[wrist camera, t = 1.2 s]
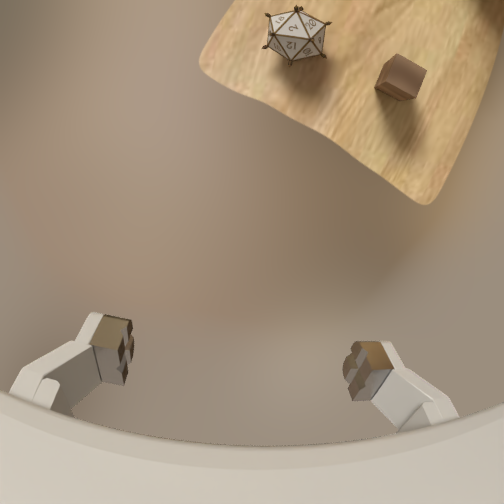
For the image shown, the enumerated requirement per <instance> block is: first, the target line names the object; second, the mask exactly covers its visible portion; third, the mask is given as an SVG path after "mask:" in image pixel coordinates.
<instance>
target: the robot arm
mask: <svg viewBox="0 0 504 504" xmlns="http://www.w3.org/2000/svg"><path fill="white" fill-rule="evenodd" d="M132 329H133V325H132V321H131V320H130V319H125V318H120V317H115V316H111V315H106V314H105V315H104V314H100V313H96V312H92V313H90V314H89V316H88V317H87V319H86V321H85V323H84V325H83V327H82V328H81V330H80V332H79V334H78V336H77V338H76V340H75V341H69V342H68V343H66V344H64V345H62V346H60V347H59V348H57V349H55V350H53V351H52V352H50V353H48V354H46V355H44V356H43V357H41V358H39V359H37V360H36V361H34V362H32V363H30V364H28V365H27V366H25V367H23V368H22V369H21V371H20V373H19V375H18V376H17V378H16V380H15V382H14V384H13V386H12V388H11V390H10V392H9V393H7V392H5V391H2V390H0V504H504V402H502V403H500V404H497V405H495V406H492V407H489V408H487V409H484V410H481V411H478V412H475V413H473V414H469V415H466V416H463V417H459V415H458V414H457V412H456V410H455V408H454V406H453V404H452V402H451V401H450V399H449V397H448V396H446V395H445V394H443V393H442V392H441V391H439V390H438V389H437V388H435V387H434V386H432V385H431V384H430V383H428V382H427V381H425V380H424V379H423V378H421V377H420V376H418V375H417V374H416V373H414V372H413V371H411V370H410V369H406V368H405V367H404V365H403V363H402V361H401V359H400V358H399V356H398V354H397V352H396V350H395V349H394V347H393V345H392V343H391V342H389V341H356V342H355V343H353V345H352V347H351V351H352V353H351V354H350V355H348V356H347V357H346V359H345V361H344V363H343V376H344V379H345V380H346V381H347V382H348V383H350V385H349V387H348V390H349V393H350V396H351V398H352V401H366V400H371V402H372V403H373V404H374V405H375V406H376V407H377V408H378V409H379V410H380V411H381V412H382V413H383V414H384V415H385V416H386V417H387V418H388V419H389V420H390V421H391V422H392V423H393V424H394V425H395V426H396V427H397V428H398V429H399V431H398V432H397V433H396V434H391V435H386V436H380V437H374V438H367V439H361V440H353V441H345V442H335V443H324V444H310V445H291V446H290V445H288V446H248V445H226V444H211V443H201V442H191V441H183V440H175V439H168V438H162V437H155V436H149V435H144V434H139V433H133V432H129V431H124V430H120V429H115V428H111V427H107V426H103V425H99V424H95V423H91V422H88V421H84V420H81V419H77V418H75V417H74V415H73V413H72V411H71V409H72V408H73V407H74V406H75V405H77V404H78V403H79V402H80V401H81V400H82V399H83V398H84V397H86V396H87V395H88V394H89V393H90V392H92V391H93V390H94V389H95V388H96V387H97V386H98V385H100V384H101V383H102V382H106V383H112V384H116V385H122V386H124V384H125V381H126V377H127V375H128V366H127V365H128V364H130V363H131V361H132V358H133V352H134V337H133V336H132V335H131V332H132Z"/></svg>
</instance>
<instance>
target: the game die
mask: <svg viewBox="0 0 504 504" xmlns="http://www.w3.org/2000/svg"><path fill="white" fill-rule="evenodd" d="M298 8H299V7H298V6H297V5H296V6H295V7H294V11H290V12H285V13H281V14H277V15H273V16H271V15H270V14H268V13H265V15H266V16H267V17H269V30H268V41H267V45H265V46H263V47H262V49H266V48H268V47H269V48H271V49H272V50H274V51H275V52H277V53H279V54H280V55H282V56H283V57H285V58H286V59H288V60H289V62H288V65H289V67H290V66H292V61H296V60H300V59H304V58H309V57H313V56H318V55H321V56H322V57H323V58H326V55H324V54H322V50H323V43H324V35H325V28H326V25H330V24H331V23H332V22H329V21H328V22H326V23H323V22H322V21H320V20H318V19H316V18H314V17H313V16H311V15H309V14H307V13H305V12H303V11H302V10H303V7H302V6H301V7H300V8H299V9H298ZM326 59H327V58H326Z"/></svg>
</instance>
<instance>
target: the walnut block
mask: <svg viewBox="0 0 504 504" xmlns="http://www.w3.org/2000/svg"><path fill="white" fill-rule="evenodd" d="M426 72H427V70H425V69H424V68H422V67H420V66H419V65H417V64H415V63H413V62H412V61H410V60H408V59H406V58H405V57H403V56H401V55H399V54H396V55H394V56H393V57H392V58H391V59H390V60H388V61H387V62H386V63H385V64H384V65H383V68H382V70H381V73H380V75H379V78H378V80H377V82H376V85H375V87H374V88H376V89H378V90H380V91H382V92H384V93H386V94H388V95H390V96H392V97H393V98H395V99H397V100H399V101H402V100H407V99H413V98H416V97H417V95H418V92H419V90H420V87H421V85H422V82H423V79H424V77H425V74H426Z"/></svg>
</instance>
